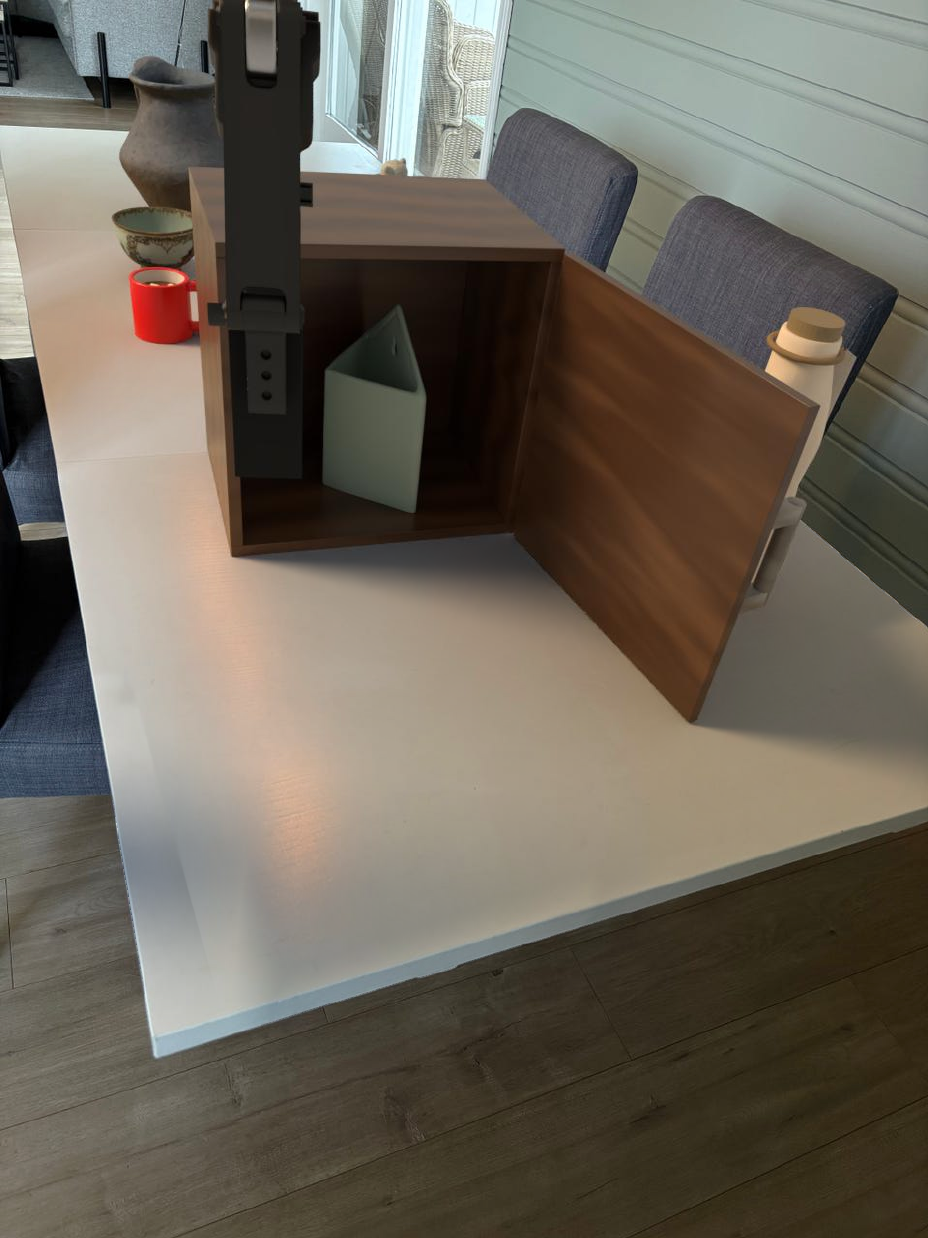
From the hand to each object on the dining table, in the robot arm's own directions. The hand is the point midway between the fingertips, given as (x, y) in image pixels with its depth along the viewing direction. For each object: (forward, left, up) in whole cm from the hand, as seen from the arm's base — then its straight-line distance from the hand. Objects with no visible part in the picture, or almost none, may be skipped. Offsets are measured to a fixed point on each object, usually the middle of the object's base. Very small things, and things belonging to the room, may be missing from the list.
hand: (271, 399), depth 43 cm
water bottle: (+48, +35, -35) cm, 69 cm away
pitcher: (-19, +142, -35) cm, 147 cm away
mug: (-15, +90, -35) cm, 98 cm away
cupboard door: (+33, +27, -35) cm, 55 cm away
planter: (+8, +49, -34) cm, 60 cm away
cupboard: (+8, +49, -35) cm, 61 cm away
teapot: (+15, +116, -35) cm, 122 cm away
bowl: (-20, +115, -35) cm, 122 cm away
